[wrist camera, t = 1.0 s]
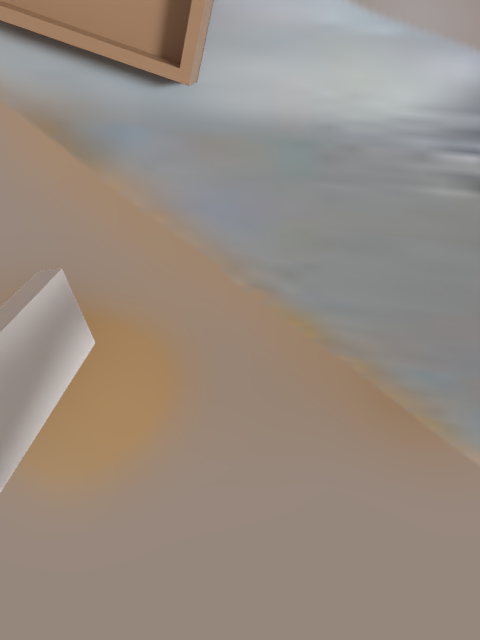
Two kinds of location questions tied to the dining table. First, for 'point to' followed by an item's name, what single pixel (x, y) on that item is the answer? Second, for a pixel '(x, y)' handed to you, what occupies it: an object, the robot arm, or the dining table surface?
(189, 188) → the dining table surface
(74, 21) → the brown square tray
